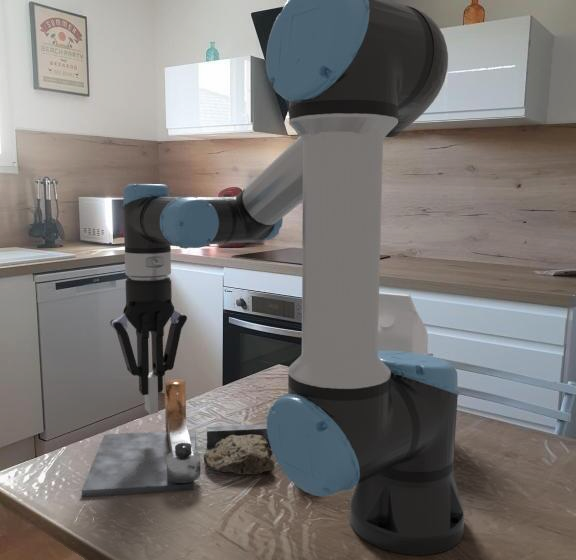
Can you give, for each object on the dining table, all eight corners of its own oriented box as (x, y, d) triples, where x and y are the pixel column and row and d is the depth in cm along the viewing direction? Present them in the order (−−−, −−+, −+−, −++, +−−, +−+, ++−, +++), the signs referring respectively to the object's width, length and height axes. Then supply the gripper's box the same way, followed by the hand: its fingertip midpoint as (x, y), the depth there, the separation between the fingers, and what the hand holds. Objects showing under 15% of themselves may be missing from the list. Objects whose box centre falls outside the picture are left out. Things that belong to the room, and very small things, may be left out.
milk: (427, 426, 112) (434, 292, 108) (411, 449, 102) (417, 302, 98) (368, 415, 118) (372, 286, 114) (346, 436, 108) (350, 295, 104)
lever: (202, 481, 87) (201, 423, 86) (167, 484, 86) (166, 426, 85) (189, 425, 108) (188, 378, 106) (161, 428, 106) (160, 380, 105)
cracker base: (313, 483, 90) (313, 439, 89) (81, 496, 85) (79, 451, 84) (293, 431, 110) (294, 394, 109) (104, 439, 105) (103, 402, 104)
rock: (204, 451, 101) (204, 428, 100) (269, 449, 102) (269, 426, 101) (202, 482, 91) (201, 456, 90) (274, 479, 92) (274, 453, 91)
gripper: (115, 282, 92) (120, 425, 96) (193, 277, 99) (194, 411, 103) (103, 276, 99) (108, 410, 102) (177, 271, 106) (179, 397, 109)
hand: (151, 410), depth 103 cm, fingers closed
